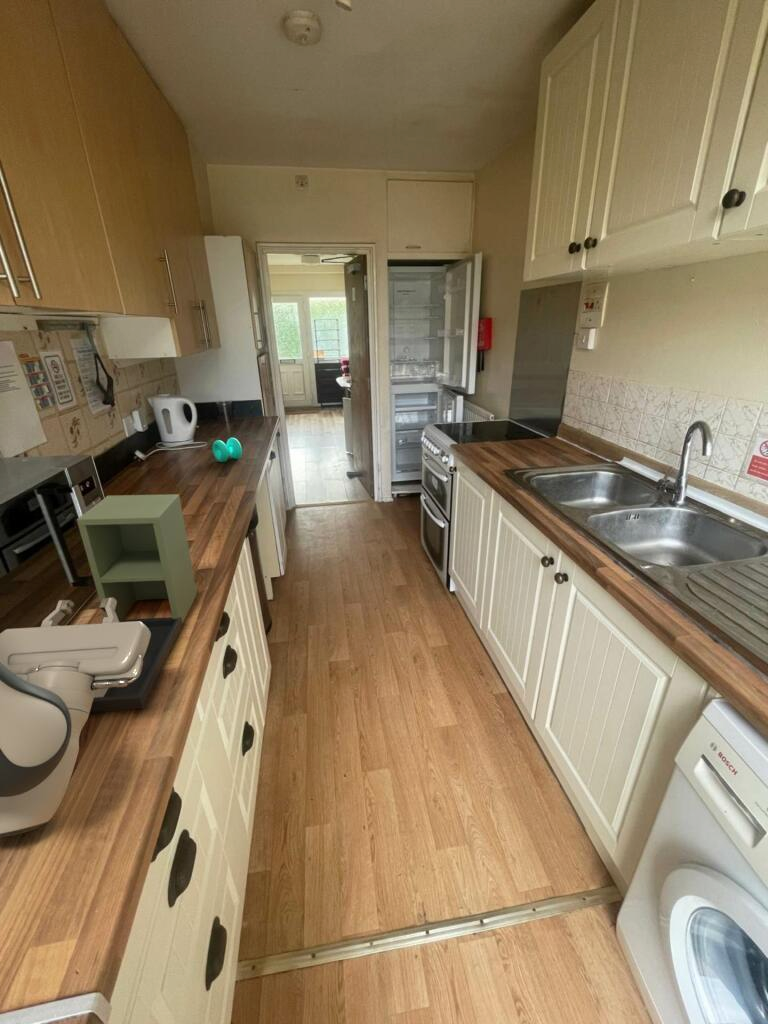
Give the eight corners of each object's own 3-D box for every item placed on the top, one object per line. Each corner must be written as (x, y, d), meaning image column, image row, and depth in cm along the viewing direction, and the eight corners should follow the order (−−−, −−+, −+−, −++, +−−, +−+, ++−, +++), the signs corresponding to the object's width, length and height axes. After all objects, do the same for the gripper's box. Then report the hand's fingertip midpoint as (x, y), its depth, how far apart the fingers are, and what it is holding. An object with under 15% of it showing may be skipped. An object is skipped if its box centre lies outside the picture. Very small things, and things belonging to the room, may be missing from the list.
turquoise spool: (212, 460, 197) (209, 439, 193) (232, 456, 204) (229, 435, 200) (224, 464, 191) (221, 442, 187) (244, 460, 198) (241, 439, 194)
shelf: (108, 631, 87) (76, 519, 77) (133, 597, 98) (107, 495, 88) (180, 627, 88) (158, 517, 78) (196, 594, 99) (179, 494, 89)
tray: (52, 715, 68) (48, 704, 67) (113, 629, 87) (110, 620, 86) (142, 708, 70) (139, 698, 69) (183, 625, 89) (181, 616, 88)
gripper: (128, 679, 58) (151, 587, 66) (-39, 692, 56) (6, 595, 64) (145, 691, 63) (164, 604, 71) (-7, 703, 61) (31, 612, 69)
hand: (88, 600), depth 68 cm, fingers open, 5 cm apart
